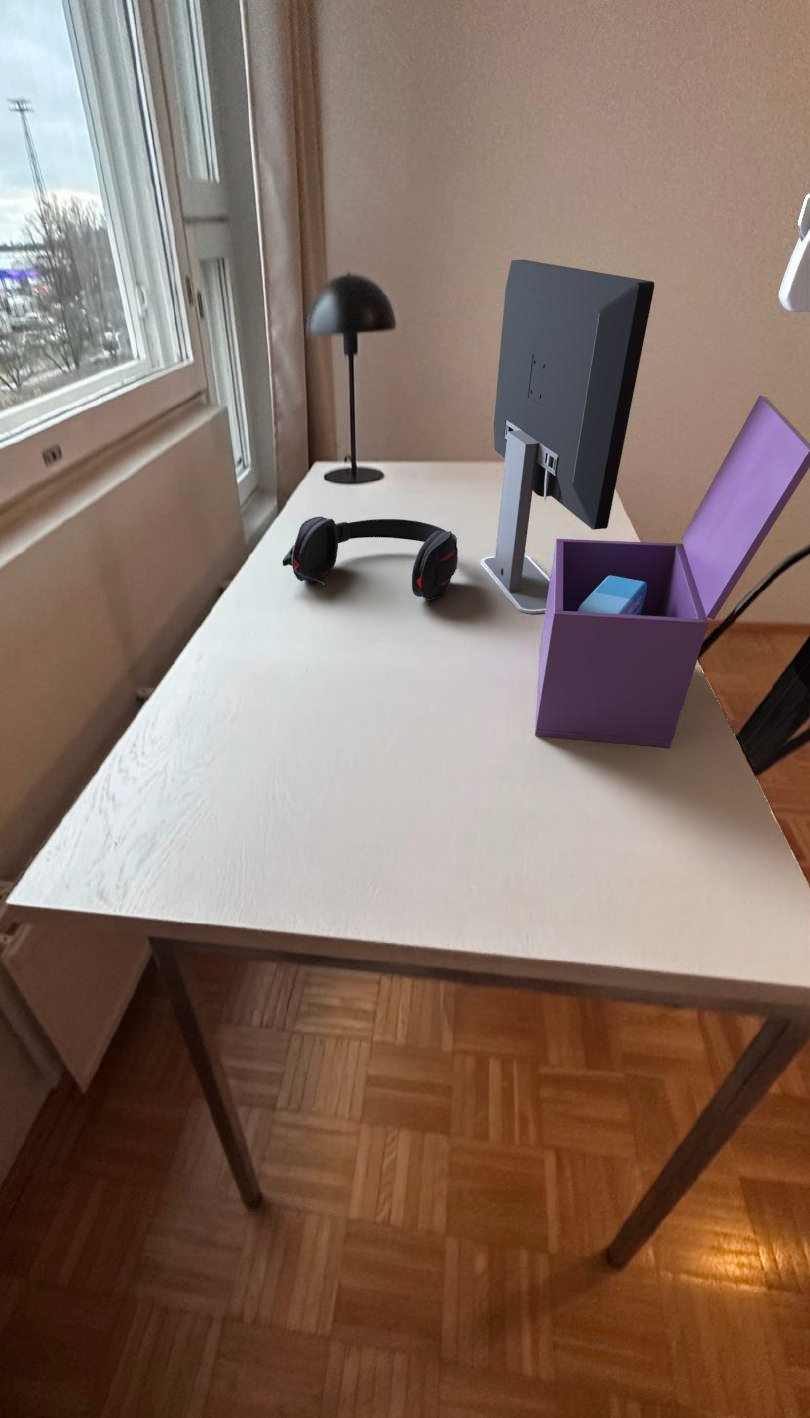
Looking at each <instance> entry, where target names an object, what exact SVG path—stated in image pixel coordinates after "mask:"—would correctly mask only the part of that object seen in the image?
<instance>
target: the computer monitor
mask: <svg viewBox="0 0 810 1418" xmlns="http://www.w3.org/2000/svg"><path fill="white" fill-rule="evenodd" d="M505 284H506V285H505V290H504V291H505V293H504V303H503V314H502V325H501V337H500V349H499V360H498V371H497V372H498V373H497V383H496V394H495V404H494V405H495V406H494V408H495V409H494V417H493V445H494V446H493V448H494V451H495V452H497V453H498V454H499V455H500V456H501V457H503V458H504V465H503V474H502V483H501V484H502V485H501V496H500V497H501V498H500V505H499V515H498V525H497V536H496V545H495V554H494V555H495V556H494V555H493V556H486V557H484V558H482V559H481V560H480V564H481V566H482V567H483V568H484V570H485V571H486V572H487V573H488V574H489V576H490V577H491V578H492V580H493V581H494V582H495V583H496V585H497V586H498V587H499V588H500V590H501V591H502V592H503V593H504V595H505V596H506V597H507V598H508V599H509V602H510V603H512V604H513V606H514V607H515V608H516V610H518V611H519V612H521V613H524V614H532V615H533V614H535V615H536V614H542V613H543V614H545V611H546V604H547V597H548V591H549V584H550V577H549V576H548V575H547V574H546V573H545V571H544V570H543V569H541V568H540V567H539V565H537V563H536V562H535V561H534V560H533V559H532V558H531V557H530V556H529V555H526V548H527V547H526V546H527V540H528V539H527V538H528V530H529V523H530V515H531V514H530V513H531V505H532V498H533V493H534V494H535V495H537V496H538V497H542V498H543V501H544V503H545V502H546V503H547V497H552V498H553V499H554V500H555V501H557V502H558V503H559V504H561V505H562V507H564V508H565V509H567V510H568V511H569V512H570V513H571V514H573V515H574V516H575V517H576V518H578V519H579V520H580V521H581V522H582V523H584V524H585V525H586V526H587V527H589V528H590V529H591V530H593V531H594V530H604V529H607V528H608V527H609V522H610V517H611V512H612V507H613V502H614V497H615V491H616V486H617V482H618V476H619V475H618V474H619V470H620V466H621V461H622V455H623V452H624V451H623V449H624V445H625V439H626V434H627V430H628V425H629V420H630V415H631V409H632V404H633V400H634V393H635V388H636V383H637V378H638V373H639V367H640V363H641V358H642V352H643V347H644V342H645V339H646V337H645V336H646V331H647V326H648V322H649V317H650V311H651V305H652V301H653V296H654V291H655V282H654V281H653V280H646V279H641V278H636V277H629V276H622V275H617V274H611V273H605V272H600V271H593V270H587V269H581V268H575V267H570V266H564V265H558V264H552V263H546V262H540V261H534V260H529V259H511V262H510V265H509V270H508V275H507V280H506V283H505Z"/></svg>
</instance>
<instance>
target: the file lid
mask: <svg viewBox="0 0 810 1418" xmlns="http://www.w3.org/2000/svg"><path fill="white" fill-rule="evenodd" d="M809 469H810V442H809V441H808V440H807V438H805V437H804V435H802V434H801V433H800V431H799V430H798V429H797V428H796V427H795V426H794V425H793V424H792V422H790V421H789V420H788V418H786V416H785V415H784V414H783V413H782V412H781V411H780V410H779V409H778V408H777V407H776V406H775V405H774V404H773V403H772V401H770V399H768V397H767V396H764V395H761V394H760V395H758V397H757V399H756V400H755V403H754V404H753V406H752V408H751V410H750V412H749V413H748V415H747V417H746V419H745V421H744V423H743V425H742V427H741V428H740V430H739V432H738V434H737V435H736V437H735V439H734V441H733V443H732V445H731V446H730V449H729V450H728V452H727V454H726V456H725V457H724V459H723V461H722V463H721V465H720V467H719V468H718V470H717V473H716V474H715V476H714V477H713V480H712V481H711V483H710V485H709V487H708V489H707V491H706V492H705V494H704V496H703V498H702V500H701V501H700V503H699V505H698V507H697V509H696V511H695V512H694V514H693V516H692V518H691V520H690V522H689V523H688V525H687V527H686V529H685V531H684V533H683V534H682V536H681V538H680V539H681V544H683V546H684V549H685V552H686V555H687V558H688V562H689V565H690V568H691V571H692V574H693V577H694V580H695V583H696V586H697V589H698V592H699V596H700V599H701V602H702V605H703V608H704V611H705V614H706V617H707V619H710V620H715V619H716V617H717V615H718V614H719V612H720V611H721V609H722V608H723V606H724V604H725V603H726V602H727V600H728V598H729V596H730V595H731V593H732V592H733V590H734V589H735V587H736V586H737V584H738V582H739V581H740V579H741V577H742V576H743V574H744V573H745V571H746V569H747V568H748V566H749V564H750V563H751V561H752V560H753V559H754V557H755V555H756V553H757V552H758V550H759V549H760V548H761V545H762V544H763V543H764V541H765V539H766V538H767V536H768V534H769V533H770V531H771V530H772V528H773V526H774V525H775V523H776V521H777V520H778V519H779V517H780V515H781V514H782V512H783V511H784V509H785V508H786V506H787V504H788V502H789V501H790V499H791V498H792V496H793V495H794V493H795V492H796V490H797V488H798V486H799V485H800V483H801V482H802V480H803V479H804V477H805V476H806V474H807V473H808V471H809Z"/></svg>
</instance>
